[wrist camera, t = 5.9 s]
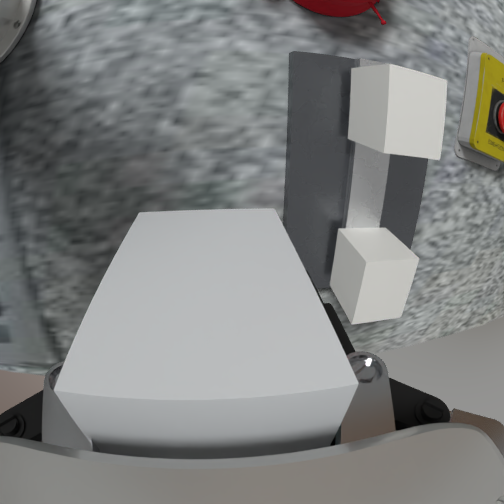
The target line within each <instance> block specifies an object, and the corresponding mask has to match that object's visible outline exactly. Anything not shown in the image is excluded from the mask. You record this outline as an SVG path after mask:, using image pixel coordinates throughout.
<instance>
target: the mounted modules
mask: <svg viewBox="0 0 504 504" xmlns="http://www.w3.org/2000/svg"><path fill="white" fill-rule="evenodd" d="M446 95H447V80H444V79H441V78H438V77H435V76H432V75H429V74H426V73H422V72H419V71H415V70H412V69H408V68H404V67H400V66H396V65H392V64H383V65H373V66H365V67H357V68H351V93H350V112H349V128H348V139H349V140H352V141H355V142H357V143H360V144H362V145H365V146H367V147H370V148H372V149H375V150H377V151H380V152H382V153H387V154H396V155H405V156H413V157H421V158H428V159H435V160H440V156H441V148H442V140H443V131H444V122H445V110H446ZM418 261H419V258H418V257H417V256H416V255H415V254H414V253H413V252H412V251H411V250H410V249H409V248H408V247H407V246H405V245H404V244H403V243H402V242H401V241H400V240H399V239H398V238H397V237H396V236H394V235H393V234H392V233H391V232H390V231H389V230H388V229H387V228H340V229H338V234H337V241H336V248H335V255H334V261H333V268H332V274H331V280H330V287H331V288H332V290H333V292H334V294H335V295H336V297H337V299H338V301H339V303H340V304H341V306H342V308H343V310H344V312H345V313H346V315H347V317H348V319H349V321H350V323H351V324H352V325H353V324H360V323H367V322H374V321H381V320H387V319H393V318H399V317H401V315H402V312H403V309H404V306H405V303H406V300H407V297H408V294H409V291H410V288H411V285H412V281H413V278H414V275H415V271H416V268H417V264H418Z"/></svg>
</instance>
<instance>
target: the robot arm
mask: <svg viewBox="0 0 504 504" xmlns="http://www.w3.org/2000/svg"><path fill="white" fill-rule="evenodd" d="M35 5H36V0H0V63H1V62H2V61H3V60H4V59H5V58H6V57H7V55H8V54H9V53H10V52H11V51H12V50H13V48H14V47H15V46H16V44H17V43H18V41H19V40H20V38H21V37H22V35H23V33H24V32H25V30H26V28H27V26H28V24H29V21H30V19H31V17H32V14H33V11H34V8H35ZM305 270H306V269H305ZM306 272H307V274H308V276H309V278H310V280H311V282H312V284H313V286H314V288H315V290H316V293H317V295H318V297H319V299H320V301H321V303H322V305H323V307H324V309H325V311H326V313H327V315H328V318H329V320H330V322H331V324H332V326H333V328H334V330H335V332H336V335H337V337H338V339H339V341H340V343H341V345H342V348H343V350H344V352H345V354H346V356H347V358H348V361H349V363H350V365H351V367H352V369H353V372H354V374H355V376H356V378H357V381H358V383H359V384H358V387H357V389H356V391H355V394H354V396H353V398H352V400H351V403H350V405H349V407H348V409H347V412H346V414H345V416H344V418H343V420H342V422H341V424H340V426H339V428H338V431H337V433H336V435H335V437H334V439H333V441H332V443H331V445H330V446H329V447H324V448H319V449H313V450H307V451H300V452H293V453H286V454H277V455H268V456H258V457H245V458H228V459H162V458H145V457H133V456H123V455H114V454H106V453H100V449H99V448H98V447H97V446H96V444H95V443H94V442H93V440H92V439H89V438H86V436H85V435H84V434H83V432H82V431H81V430H80V428H79V427H78V426H77V424H76V423H75V421H74V420H73V419H72V417H71V416H70V414H69V413H68V411H67V410H66V408H65V407H64V405H63V404H62V402H61V401H60V399H59V398H58V396H57V395H56V393H55V391H54V388H55V385H56V383H57V380H58V377H59V375H60V372H61V370H62V367H63V365H64V362H65V361H63V362H60V363H58V364H56V365H54V366H53V367H51V368H50V369H49V370H48V372H47V374H46V375H45V380H44V389H43V390H42V391H40V392H39V393H37V394H35V395H33V396H32V397H30V398H28V399H26V400H25V401H23V402H21V403H19V404H17V405H16V406H14V407H12V408H10V409H9V410H7V411H5V412H4V413H2V414H1V415H0V504H504V426H503V425H502V424H501V423H500V422H499V421H497V420H495V419H491V418H487V417H483V416H480V415H476V414H472V413H469V412H465V411H461V410H458V409H455V408H454V409H453V410H452V411H449V409H448V407H447V406H446V404H445V403H444V402H443V401H441V400H440V399H438V398H436V397H434V396H432V395H429V394H427V393H424V392H422V391H420V390H417V389H414V388H412V387H410V386H407V385H405V384H403V383H401V382H398V381H396V380H394V379H391V378H389V377H388V371H387V367H386V365H385V363H384V362H383V361H382V359H380V358H379V357H377V356H376V355H374V354H371V353H368V352H363V351H362V352H355V350H354V348H353V346H352V344H351V342H350V340H349V338H348V336H347V334H346V332H345V330H344V328H343V326H342V324H341V322H340V320H339V318H338V316H337V314H336V312H335V310H334V308H333V306H332V305H331V304H329V303H326V304H324V303H323V301H322V299H321V297H320V295H319V293H318V291H317V289H316V287H315V285H314V283H313V281H312V279H311V277H310V275H309V273H308V271H307V270H306Z"/></svg>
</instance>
